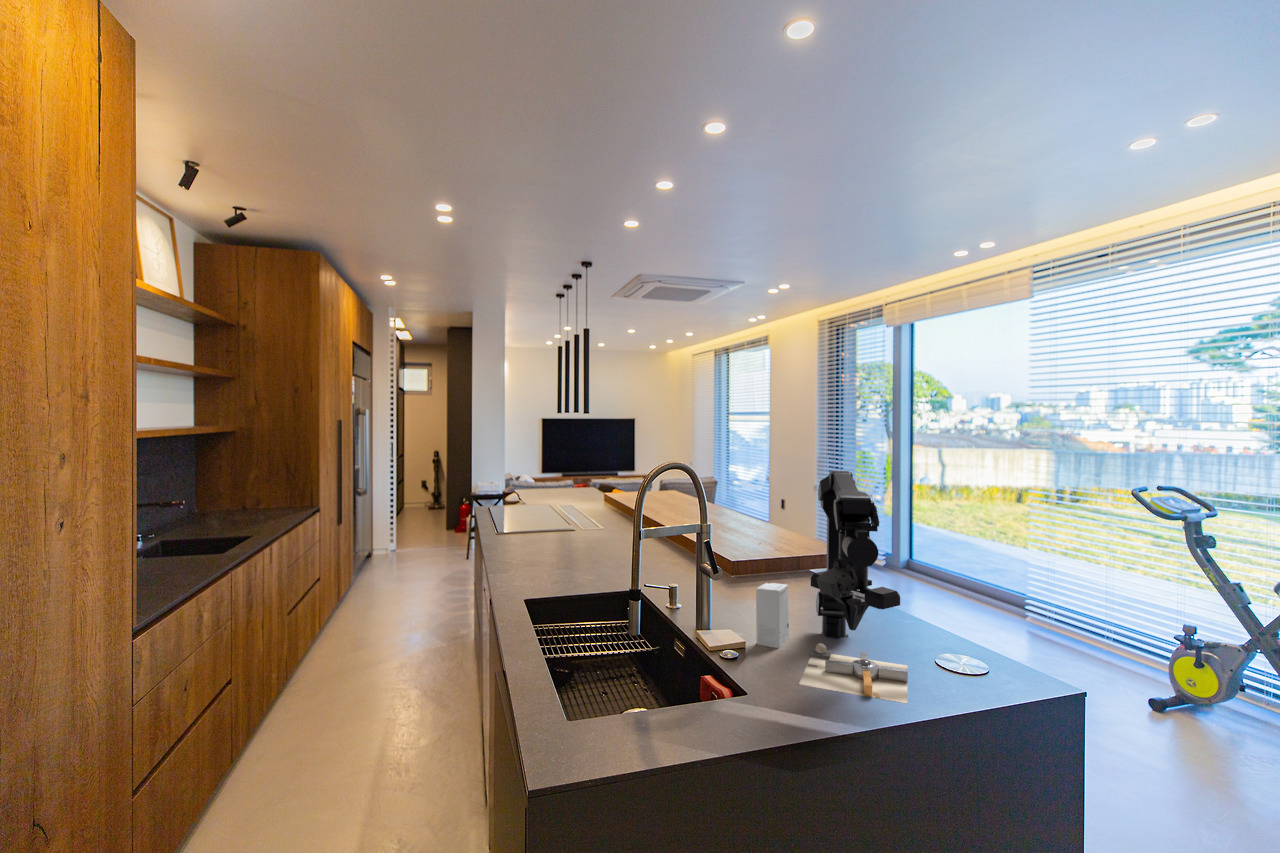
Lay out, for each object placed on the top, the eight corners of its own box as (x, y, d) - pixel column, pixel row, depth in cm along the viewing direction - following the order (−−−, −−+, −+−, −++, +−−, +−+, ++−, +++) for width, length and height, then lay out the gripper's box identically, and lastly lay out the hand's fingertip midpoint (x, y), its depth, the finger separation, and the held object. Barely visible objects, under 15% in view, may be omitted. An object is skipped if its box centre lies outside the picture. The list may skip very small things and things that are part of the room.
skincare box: (779, 654, 140) (780, 591, 140) (754, 650, 143) (755, 588, 143) (789, 643, 148) (789, 583, 148) (765, 639, 151) (766, 580, 151)
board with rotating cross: (813, 657, 139) (813, 639, 139) (907, 672, 130) (907, 653, 130) (798, 691, 120) (798, 670, 120) (907, 711, 112) (907, 688, 112)
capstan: (824, 691, 117) (824, 675, 117) (825, 657, 135) (825, 643, 135) (913, 702, 112) (913, 686, 112) (902, 666, 130) (902, 652, 130)
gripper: (792, 550, 128) (791, 622, 128) (863, 570, 112) (863, 653, 112) (829, 544, 133) (828, 614, 134) (902, 563, 117) (901, 641, 118)
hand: (852, 629), depth 124 cm, fingers closed
